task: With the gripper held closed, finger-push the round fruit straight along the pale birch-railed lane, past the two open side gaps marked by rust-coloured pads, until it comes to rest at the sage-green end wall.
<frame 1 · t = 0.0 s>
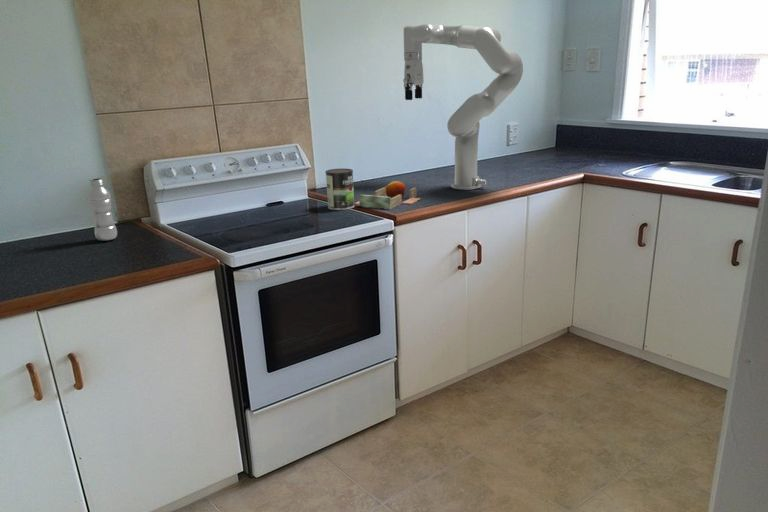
hand: (413, 99, 251), 37 cm above the counter, tool pointing down, fingers open, 9 cm apart
trap box: (389, 201, 231), on the counter
trap marks: (389, 201, 231), on the counter
plastic bottle: (107, 240, 192), on the counter
coffee can: (341, 207, 225), on the counter
fruit: (396, 198, 237), on the counter
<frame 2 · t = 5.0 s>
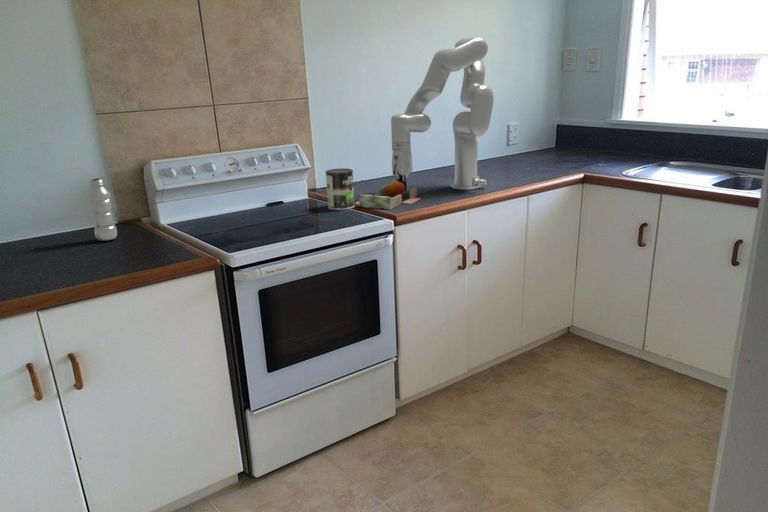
hand: (402, 191, 241), 2 cm above the counter, tool pointing down, fingers closed
fruit: (395, 198, 236), on the counter, touching gripper
everything else where it was.
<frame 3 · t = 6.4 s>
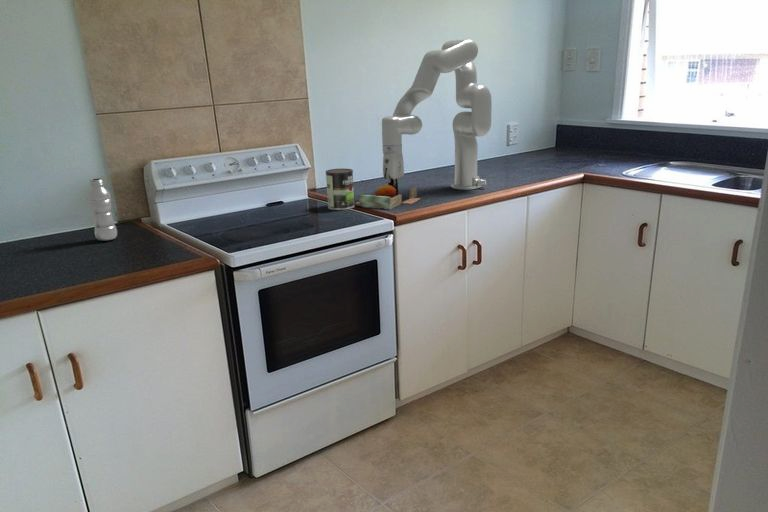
hand: (393, 195, 234), 2 cm above the counter, tool pointing down, fingers closed
fruit: (386, 203, 229), on the counter, touching gripper
everything else where it was.
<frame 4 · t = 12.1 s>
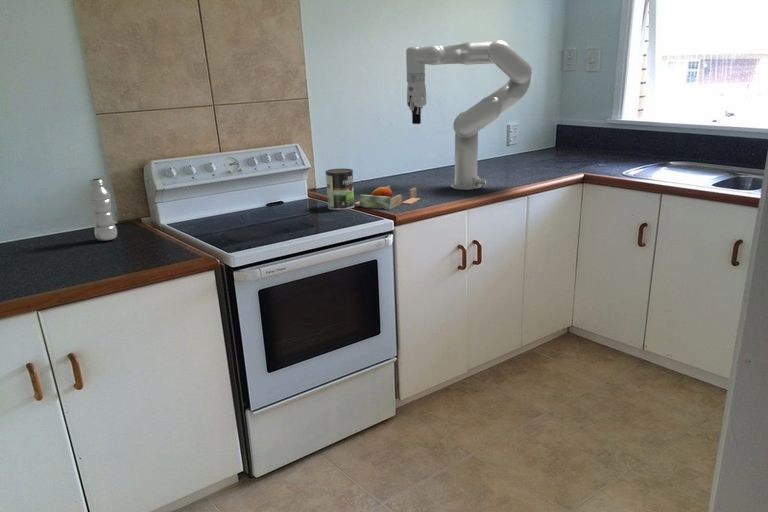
hand: (416, 123, 248), 27 cm above the counter, tool pointing down, fingers closed
fruit: (382, 205, 227), on the counter
everything else where it was.
at the end: fruit inside the target area on the trap box (2.5 cm from its centre), point 0.0 cm above the trap box's base; fruit moved 11.7 cm from its start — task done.
